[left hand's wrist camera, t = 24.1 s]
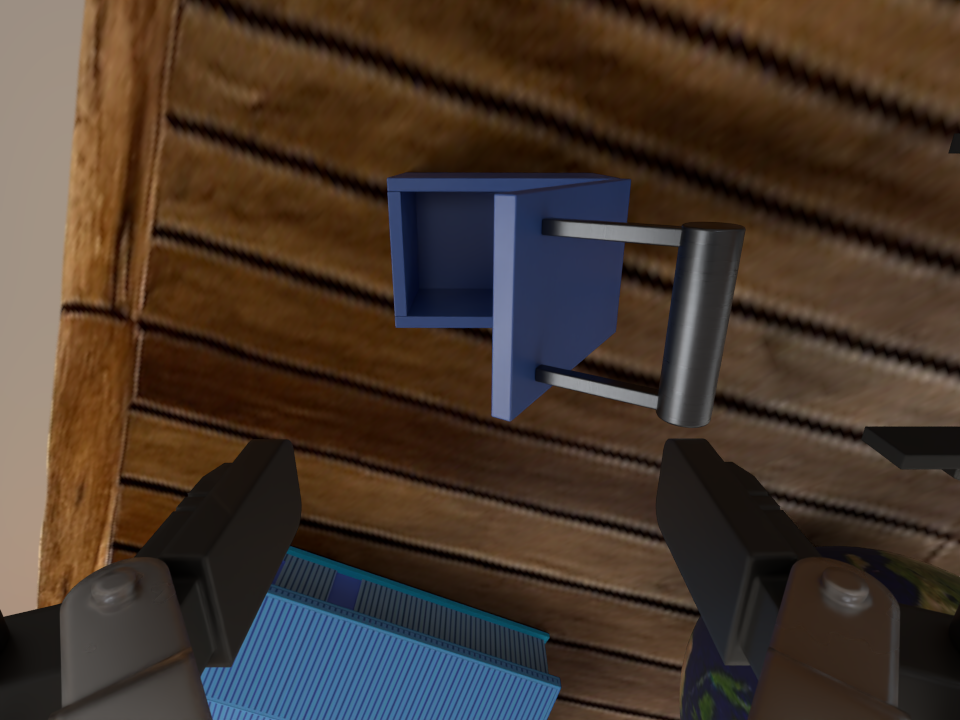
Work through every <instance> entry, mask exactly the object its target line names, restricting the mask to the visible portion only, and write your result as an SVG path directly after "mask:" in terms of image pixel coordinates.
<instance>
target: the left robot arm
mask: <svg viewBox="0 0 960 720" xmlns="http://www.w3.org/2000/svg"><path fill="white" fill-rule="evenodd" d="M656 515H657V521H658V525H659V528H660V530H661V533H662V535H663V537H664V539H665V541H666V543H667V545H668V547H669V549H670V551H671V554H672V556H673V558H674V560H675V562H676V564H677V566H678V568H679V570H680V572H681V575H682V577H683V579H684V581H685V583H686V585H687V587H688V589H689V591H690V593H691V595H692V598H693V600H694V602H695V604H696V606H697V608H698V610H699V612H700V614H701V616H702V619H703V621H704V623H705V625H706V627H707V629H708V631H709V633H710V635H711V637H712V640H713V642H714V644H715V646H716V648H717V650H718V652H719V654H720V656H721V658H722V661H723V663H724V665H750V666H751V668H752V670H753V671H754V673H755V675H756V677H757V679H758V684H757V688H756V691H755V695H754V698H753V701H752V705H751V708H750V712H749V715H748V719H747V720H960V603H959V606H958V608H957V610H956V613H955V615H950V614H946V613H941V612H937V611H932V610H928V609H924V608H919V607H915V606H910V605H906V604H902V603H898V602H897V600H896V599H895V597H894V596H893V594H892V593H891V592H890V591H889V590H888V589H887V588H886V587H885V586H884V585H883V584H882V583H881V582H880V581H878V580H877V579H876V578H874V577H873V576H871V575H870V574H868V573H866V572H865V571H863V570H861V569H859V568H857V567H855V566H852V565H850V564H847V563H844V562H841V561H838V560H834V559H830V558H823V557H822V556H821V555H820V553H819V552H818V551H817V550H816V549H815V548H814V546H813V545H812V544H811V543H810V542H809V540H808V539H807V538H806V537H805V536H804V535H803V533H802V532H801V531H800V530H799V529H798V527H797V526H796V525H795V524H794V523H793V522H792V520H791V519H790V518H789V517H788V516H787V514H786V513H785V512H784V511H783V510H780V506H779V505H778V504H777V503H776V501H775V500H774V499H773V498H772V497H771V496H768V492H767V491H766V490H765V488H764V487H763V486H762V485H761V484H760V482H759V481H758V480H757V479H756V478H755V477H754V476H753V475H752V474H750V473H749V472H747V471H745V470H744V469H742V468H741V467H739V466H738V465H736V464H735V463H733V462H724V461H723V460H722V459H721V457H720V456H719V455H718V453H717V452H716V451H715V450H714V448H713V447H712V446H711V445H710V443H709V442H708V441H707V440H706V439H668V440H667V441H666V443H665V445H664V450H663V456H662V463H661V470H660V477H659V483H658V490H657V497H656ZM300 518H301V496H300V489H299V482H298V476H297V469H296V462H295V456H294V450H293V446H292V443H291V442H290V441H289V440H251V441H250V442H249V443H248V444H247V445H246V447H245V448H244V449H243V450H242V452H241V453H240V454H239V455H238V457H237V458H236V459H235V460H234V462H233V463H224V464H222V465H221V466H219V467H217V468H216V469H214V470H213V471H211V472H210V473H208V474H207V475H205V476H204V477H202V478H201V480H200V481H199V482H198V483H197V484H196V485H195V487H194V488H193V489H192V490H191V491H190V492H189V494H188V497H185V498H184V499H183V501H182V502H181V503H180V504H179V505H178V506H177V508H176V511H173V512H172V514H171V515H170V516H169V517H168V518H167V519H166V521H165V522H164V523H163V524H162V525H161V526H160V528H159V529H158V530H157V531H156V532H155V533H154V535H153V536H152V537H151V538H150V539H149V540H148V542H147V543H146V544H145V545H144V546H143V547H142V549H141V550H140V551H139V552H138V553H137V555H136V556H135V557H134V558H130V559H126V560H122V561H119V562H116V563H113V564H110V565H108V566H105V567H103V568H101V569H99V570H97V571H95V572H94V573H92V574H90V575H89V576H87V577H86V578H84V579H83V580H82V581H80V582H79V583H78V584H77V585H76V586H75V587H74V588H73V589H72V590H71V591H70V592H69V593H68V594H67V596H66V597H65V599H64V600H63V602H62V603H61V604H57V605H53V606H49V607H44V608H40V609H36V610H31V611H27V612H23V613H19V614H14V615H10V616H5V617H3V615H2V612H1V610H0V720H213V719H212V715H211V712H210V708H209V705H208V701H207V698H206V695H205V691H204V688H203V684H202V681H201V675H202V673H203V671H204V669H205V667H232V665H233V663H234V661H235V658H236V656H237V654H238V652H239V650H240V648H241V646H242V644H243V642H244V640H245V638H246V636H247V634H248V632H249V629H250V627H251V625H252V623H253V621H254V619H255V617H256V615H257V613H258V611H259V609H260V607H261V605H262V603H263V600H264V598H265V596H266V594H267V592H268V590H269V588H270V586H271V584H272V582H273V580H274V578H275V576H276V574H277V571H278V569H279V567H280V565H281V563H282V561H283V559H284V557H285V555H286V553H287V551H288V549H289V547H290V545H291V542H292V540H293V538H294V536H295V534H296V532H297V530H298V527H299V523H300Z"/></svg>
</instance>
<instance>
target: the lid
mask: <svg viewBox="0 0 960 720" xmlns="http://www.w3.org/2000/svg"><path fill="white" fill-rule="evenodd" d="M630 186H631V179H608V180H600V181H592V182H584V183H576V184H568V185H560V186H552V187H544V188H535V189H527V190H519V191H511V192H503V193H496V194H494V248H493V337H492V416H493V417H496V418H499V419H503V420H506V421H512V420H513V419H514V418H515V417H516V416H518V415H519V414H520V413H521V412H522V411H523V410H525V409H526V408H527V407H528V406H529V405H530V404H532V403H533V402H534V401H535V400H536V399H537V398H539V397H540V396H541V395H542V394H543V393H544V392H546V391H547V390H548V389H549V388H550V387H552V386H553V385H554V386H558V387H562V388H566V389H571V390H575V391H579V392H583V393H588V394H592V395H596V396H600V397H605V398H609V399H613V400H618V401H622V402H626V403H630V404H635V405H639V406H643V407H647V408H652V409H656V413H657V415H658V417H659V418H661V419H662V420H664V421H665V422H667V423H670V424H673V425H676V426H680V427H688V428H696V427H702V426H705V425H707V424H708V423H709V422H710V420H711V415H712V409H713V404H714V398H715V393H716V388H717V382H718V377H719V371H720V366H721V360H722V355H723V349H724V344H725V338H726V333H727V327H728V322H729V317H730V311H731V306H732V300H733V295H734V289H735V284H736V278H737V273H738V267H739V262H740V256H741V251H742V246H743V240H744V235H745V227H743V226H741V225H737V224H730V223H719V222H689V223H685V224H683V225H682V226H669V225H654V224H640V223H627V215H628V205H629V196H630ZM625 242H627V243H639V244H650V245H662V246H673V247H679V249H678V256H677V263H676V270H675V278H674V285H673V292H672V299H671V306H670V313H669V321H668V328H667V335H666V342H665V349H664V357H663V364H662V371H661V378H660V385H659V389H654V388H650V387H645V386H640V385H636V384H631V383H627V382H622V381H617V380H613V379H608V378H603V377H599V376H594V375H590V374H585V373H580V372H576V371H571V369H573V368H574V367H575V366H576V365H577V364H578V363H580V362H581V361H582V360H583V359H584V358H586V357H587V356H588V355H589V354H590V353H591V352H593V351H594V350H595V349H596V348H597V347H598V346H600V345H601V344H602V343H603V342H604V341H605V340H607V339H608V338H609V337H610V336H611V335H612V334H614V333H615V332H616V323H617V314H618V304H619V294H620V284H621V274H622V264H623V255H624V245H625Z"/></svg>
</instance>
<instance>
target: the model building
mask: <svg viewBox="0 0 960 720" xmlns="http://www.w3.org/2000/svg"><path fill="white" fill-rule="evenodd" d="M549 638H550V637H549V633H546V632H543V631H540V630H537V629H534V628H531V627H528V626H525V625H522V624H519V623H516V622H513V621H510V620H507V619H504V618H501V617H498V616H495V615H492V614H490V613H487V612H484V611H481V610H478V609H475V608H472V607H469V606H466V605H463V604H460V603H457V602H454V601H451V600H448V599H445V598H442V597H439V596H436V595H433V594H430V593H428V592H425V591H422V590H419V589H416V588H413V587H410V586H407V585H404V584H401V583H398V582H395V581H392V580H389V579H386V578H383V577H380V576H377V575H374V574H371V573H369V572H366V571H363V570H360V569H357V568H354V567H351V566H348V565H345V564H342V563H339V562H336V561H333V560H330V559H327V558H324V557H321V556H318V555H315V554H312V553H309V552H307V551H304V550H301V549H298V548H295V547H292V546H290V547H289V549H288V551H287V553H286V555H285V557H284V559H283V561H282V563H281V565H280V567H279V569H278V571H277V574H276V576H275V578H274V580H273V582H272V584H271V586H270V588H269V590H268V592H267V594H266V596H265V598H264V600H263V603H262V605H261V607H260V609H259V611H258V613H257V615H256V617H255V619H254V621H253V623H252V625H251V627H250V629H249V632H248V634H247V636H246V638H245V640H244V642H243V644H242V646H241V648H240V650H239V652H238V654H237V656H236V658H235V661H234V663H233V665H232V667H205V669H204V671H203V673H202V675H201V681H202V684H203V688H204V691H205V695H206V698H207V701H208V705H209V708H210V712H211V715H212V719H213V720H547V719H548V716H549V714H550V712H551V710H552V707H553V705H554V703H555V701H556V698H557V696H558V694H559V692H560V689H561V682H560V678H559V677H556V676H553V675H550V674H549V673H548V666H547V658H546V651H545V643H546V642H547V640H548V639H549Z"/></svg>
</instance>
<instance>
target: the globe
mask: <svg viewBox="0 0 960 720" xmlns="http://www.w3.org/2000/svg"><path fill="white" fill-rule="evenodd" d="M814 548H815V549H816V550H817V551H818V552H819V553H820V555H821V556H822V557H823V558H830V559H834V560H838V561H841V562H844V563H847V564H850V565H852V566H855V567H857V568H859V569H861V570H863V571H865V572H866V573H868V574H870V575H871V576H873V577H874V578H876V579H877V580H878V581H880V582H881V583H882V584H883V585H884V586H885V587H886V588H887V589H888V590H889V591H890V592H891V593H892V594H893V596H894V597H895V599H896V600H897V602H898V603H902V604H906V605H910V606H915V607H919V608H924V609H928V610H932V611H937V612H941V613H946V614H950V615H955V613H956V610H957V608H958V606H959V603H960V577H959V576H957V575H955V574H953V573H950V572H948V571H946V570H943V569H941V568H938V567H936V566H934V565H931V564H928V563H925V562H922V561H919V560H916V559H913V558H910V557H906V556H903V555H899V554H895V553H891V552H887V551H882V550H874V549H867V548H859V547H846V546H822V547H814ZM757 684H758V679H757V677H756V675H755V673H754V671H753V670H752V668H751V666H750V665H724V663H723V661H722V658H721V656H720V654H719V652H718V650H717V648H716V646H715V644H714V642H713V640H712V637H711V635H710V633H709V631H708V629H707V627H706V625H705V623H704V621H703V619H702V616H700V618H699V620H698V621H697V623H696V626H695V628H694V630H693V632H692V635H691V637H690V640H689V643H688V645H687V649H686V653H685V657H684V661H683V665H682V672H681V680H680V718H681V720H747V719H748V715H749V712H750V708H751V705H752V701H753V698H754V695H755V691H756V688H757Z"/></svg>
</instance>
